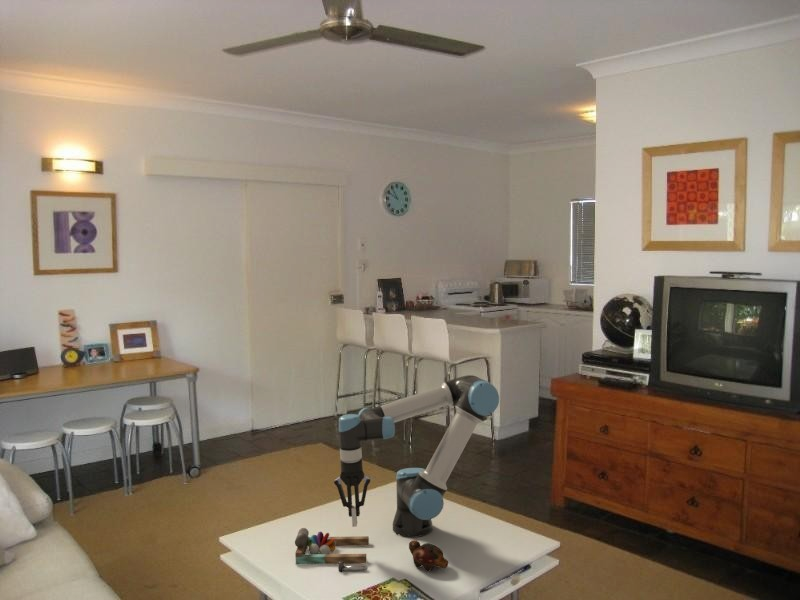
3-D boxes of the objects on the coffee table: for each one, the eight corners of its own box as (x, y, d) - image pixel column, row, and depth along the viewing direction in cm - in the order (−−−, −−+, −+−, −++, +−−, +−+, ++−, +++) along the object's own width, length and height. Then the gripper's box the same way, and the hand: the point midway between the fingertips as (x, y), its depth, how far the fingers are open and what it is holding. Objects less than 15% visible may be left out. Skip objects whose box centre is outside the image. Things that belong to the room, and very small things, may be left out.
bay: (368, 543, 243) (368, 522, 243) (366, 563, 227) (365, 541, 227) (300, 543, 243) (300, 523, 243) (293, 564, 227) (292, 542, 227)
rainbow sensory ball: (331, 558, 231) (330, 538, 231) (304, 556, 234) (304, 536, 233) (339, 548, 240) (338, 528, 239) (313, 545, 242) (313, 526, 241)
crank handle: (367, 569, 223) (367, 560, 223) (367, 571, 221) (367, 563, 221) (338, 569, 223) (338, 560, 223) (338, 572, 221) (338, 563, 221)
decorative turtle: (414, 556, 232) (415, 534, 231) (453, 569, 224) (455, 546, 224) (400, 566, 224) (401, 543, 223) (440, 580, 216) (442, 556, 216)
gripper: (370, 455, 236) (373, 519, 238) (333, 456, 237) (337, 521, 239) (369, 462, 229) (372, 528, 231) (331, 463, 229) (335, 530, 231)
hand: (354, 524), depth 235 cm, fingers closed
